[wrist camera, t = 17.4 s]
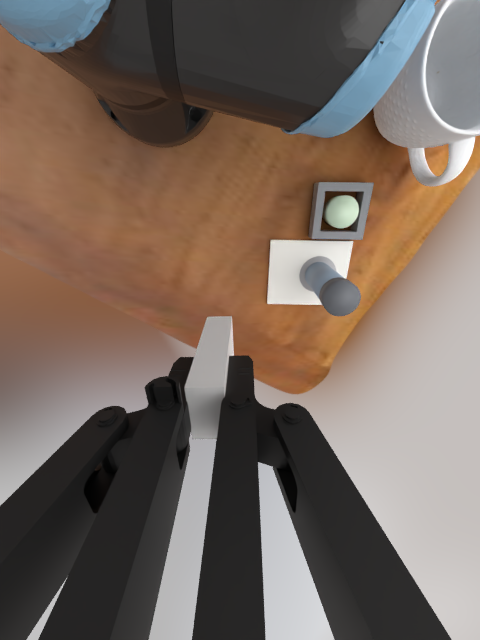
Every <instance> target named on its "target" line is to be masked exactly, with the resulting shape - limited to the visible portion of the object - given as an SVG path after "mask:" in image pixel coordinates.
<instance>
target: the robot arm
mask: <svg viewBox="0 0 480 640" xmlns="http://www.w3.org/2000/svg"><path fill="white" fill-rule="evenodd" d="M435 2H436V0H0V24H1V25H2V26H3V27H4V28H6V30H7V31H8V32H9V33H10V34H11V35H13V36H14V37H16V39H17V40H19V41H20V42H21V43H24V44H26V45H29V46H30V47H31V48H33V49H34V50H37V51H38V52H40V53H41V54H43V55H44V56H46V57H47V58H48V59H50V60H51V61H53V62H54V63H56V64H57V65H58V66H60V67H61V68H63V69H64V70H66V71H67V72H68V73H70V74H71V75H73V76H74V77H75V78H77V79H78V80H80V81H81V82H83V83H84V84H85V85H87V86H88V87H90V88H91V89H92V90H93V91H94V93H95V95H96V97H97V99H98V101H99V103H100V104H101V106H102V107H103V109H104V110H105V112H106V113H107V114H108V116H109V117H110V118H111V119H112V120H113V121H114V122H115V123H116V124H117V125H118V126H119V127H120V128H121V129H122V130H124V131H125V132H126V133H128V134H129V135H131V136H133V137H134V138H136V139H138V140H140V141H142V142H144V143H146V144H149V145H152V146H157V147H173V146H178V145H181V144H183V143H186V142H188V141H189V140H191V139H193V138H194V137H195V136H196V135H198V134H199V133H200V132H201V131H202V130H203V128H204V127H205V126H206V125H207V123H208V122H209V120H210V118H211V117H212V114H213V112H214V111H215V112H219V113H223V114H227V115H231V116H235V117H239V118H243V119H247V120H251V121H255V122H259V123H263V124H267V125H271V126H275V127H279V128H281V130H282V131H283V132H284V133H287V134H298V133H302V134H307V135H312V136H317V137H322V138H330V137H334V136H338V135H339V134H343V133H345V132H347V131H348V130H350V129H351V128H353V127H354V126H355V125H356V124H358V123H359V122H360V121H361V120H362V119H363V118H364V117H365V116H366V115H367V114H368V113H369V112H370V111H371V110H372V108H373V107H374V106H375V105H376V104H377V103H378V101H379V100H380V99H381V98H382V96H383V95H384V94H385V92H386V91H387V90H388V88H389V87H390V86H391V84H392V83H393V81H394V80H395V79H396V77H397V76H398V74H399V73H400V71H401V70H402V68H403V67H404V65H405V64H406V62H407V61H408V59H409V57H410V56H411V54H412V53H413V51H414V49H415V48H416V46H417V44H418V43H419V41H420V39H421V38H422V36H423V34H424V32H425V30H426V29H427V27H428V25H429V23H430V21H431V19H432V17H433V15H434V13H435V6H434V3H435ZM145 391H146V395H147V399H148V403H149V404H148V407H147V408H145V409H142V410H139V411H135V412H132V413H126V411H125V409H124V408H122V407H120V406H110V407H107V408H104V409H102V410H99V411H98V412H96V413H95V414H94V415H93V416H91V417H90V419H89V420H87V421H86V422H85V423H84V424H83V425H82V426H81V427H80V428H79V429H78V430H77V431H76V432H75V433H74V434H73V435H72V436H71V437H70V438H69V439H68V440H67V441H66V442H65V443H64V444H63V445H62V446H61V447H60V448H59V449H58V450H57V451H56V452H55V453H54V454H53V455H52V456H51V457H50V458H49V459H48V460H47V461H46V462H45V463H44V464H43V465H42V466H41V467H40V468H39V469H38V470H37V471H35V472H34V474H33V475H31V476H30V477H29V478H28V479H27V480H26V481H25V482H24V483H23V484H22V485H21V486H20V487H19V488H18V489H17V490H16V491H15V492H14V493H13V494H12V495H11V496H10V497H9V498H8V499H7V500H6V501H5V502H4V503H3V504H2V505H1V506H0V640H26V639H27V638H28V636H29V635H30V633H31V632H32V630H33V628H34V627H35V625H36V624H37V622H38V621H39V619H40V618H41V616H42V614H43V613H44V612H45V610H46V609H47V607H48V605H49V604H50V602H51V601H52V599H53V598H54V596H55V595H56V593H57V592H58V590H59V589H60V587H61V586H62V584H63V583H64V581H65V579H66V578H67V580H66V582H65V584H64V586H63V588H62V590H61V592H60V594H59V597H58V599H57V601H56V603H55V605H54V607H53V609H52V612H51V614H50V616H49V618H48V620H47V622H46V624H45V626H44V629H43V631H42V633H41V635H40V637H39V639H38V640H148V639H149V634H150V630H151V625H152V621H153V616H154V611H155V607H156V602H157V598H158V593H159V588H160V584H161V579H162V575H163V570H164V566H165V561H166V556H167V552H168V548H169V543H170V538H171V534H172V529H173V525H174V520H175V515H176V511H177V506H178V501H179V497H180V493H181V488H182V483H183V479H184V474H185V470H186V465H187V461H188V456H189V452H190V445H189V437H190V432H191V435H192V439H217V441H216V450H215V457H214V467H213V474H212V482H211V490H210V498H209V506H208V514H207V523H206V530H205V539H204V547H203V555H202V564H201V571H200V579H199V588H198V596H197V604H196V612H195V620H194V629H193V636H192V640H265V619H264V596H263V573H262V551H261V550H262V549H261V527H260V526H261V525H260V502H259V479H258V462H260V463H263V464H267V465H270V466H273V470H274V472H275V475H276V478H277V481H278V484H279V486H280V489H281V492H282V495H283V497H284V500H285V503H286V506H287V509H288V511H289V514H290V517H291V519H292V522H293V525H294V528H295V530H296V534H297V536H298V539H299V542H300V544H301V547H302V550H303V553H304V556H305V559H306V561H307V564H308V567H309V570H310V572H311V575H312V578H313V581H314V583H315V586H316V589H317V592H318V594H319V597H320V600H321V603H322V606H323V608H324V611H325V614H326V617H327V620H328V622H329V625H330V628H331V631H332V633H333V636H334V639H335V640H451V638H450V637H449V635H448V633H447V632H446V630H445V629H444V627H443V625H442V624H441V622H440V621H439V619H438V618H437V616H436V614H435V613H434V611H433V609H432V608H431V606H430V605H429V603H428V602H427V600H426V598H425V597H424V595H423V594H422V592H421V590H420V589H419V587H418V585H417V584H416V582H415V581H414V579H413V577H412V576H411V574H410V573H409V571H408V570H407V568H406V566H405V565H404V563H403V562H402V560H401V558H400V557H399V555H398V554H397V552H396V550H395V549H394V547H393V546H392V544H391V542H390V541H389V539H388V538H387V536H386V534H385V533H384V531H383V530H382V528H381V526H380V525H379V523H378V522H377V520H376V518H375V517H374V515H373V514H372V512H371V511H370V509H369V508H368V506H367V504H366V502H365V501H364V499H363V498H362V496H361V495H360V493H359V492H358V490H357V488H356V487H355V485H354V483H353V482H352V480H351V479H350V477H349V476H348V474H347V472H346V471H345V469H344V467H343V466H342V464H341V463H340V461H339V460H338V458H337V456H336V455H335V453H334V451H333V450H332V449H331V447H330V445H329V443H328V442H327V440H326V439H325V437H324V436H323V434H322V432H321V431H320V429H319V428H318V426H317V424H316V423H315V421H314V420H313V418H312V416H311V415H310V413H309V412H308V411H307V410H306V409H305V408H304V407H302V406H300V405H298V404H293V403H286V404H282V405H280V406H279V407H277V409H275V410H274V409H270V408H267V407H264V406H263V405H261V404H260V403H259V402H258V401H257V400H256V398H255V395H254V374H253V361H252V359H251V358H250V357H249V356H234V349H233V329H232V316H222V317H207V319H206V322H205V326H204V329H203V332H202V335H201V338H200V341H199V344H198V347H197V350H196V354H195V356H194V357H180V358H179V359H178V360H177V361H176V362H175V363H174V364H173V366H172V369H171V371H170V373H169V376H165V377H159V378H157V379H154V380H152V381H151V382H149V383H148V384H147V385H146V386H145ZM67 576H68V577H67Z"/></svg>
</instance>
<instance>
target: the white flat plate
mask: <svg viewBox="0 0 480 640" xmlns="http://www.w3.org/2000/svg"><path fill="white" fill-rule="evenodd" d="M352 245H353V241H330V240H271V242H270V259H269V277H268V294H267V304H305V305H322V304H321V302H320V299H319V298H318V297H317V295H316V294H315V293H314V291H313V290H312V289H311V287H310V286H309V285H308V283H307V282H306V280H305V272H306V270H307V268H308V267H309V266H310V265H311V264H313V263H315V262H324V263H326V264H327V265H329V266H330V267H331V268H332V269H334V270H335V271H336V272H337V273H339V274H340V275H341V276H342V277H344V278H345V279H346V277H347V272H348V267H349V261H350V256H351V251H352Z"/></svg>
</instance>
